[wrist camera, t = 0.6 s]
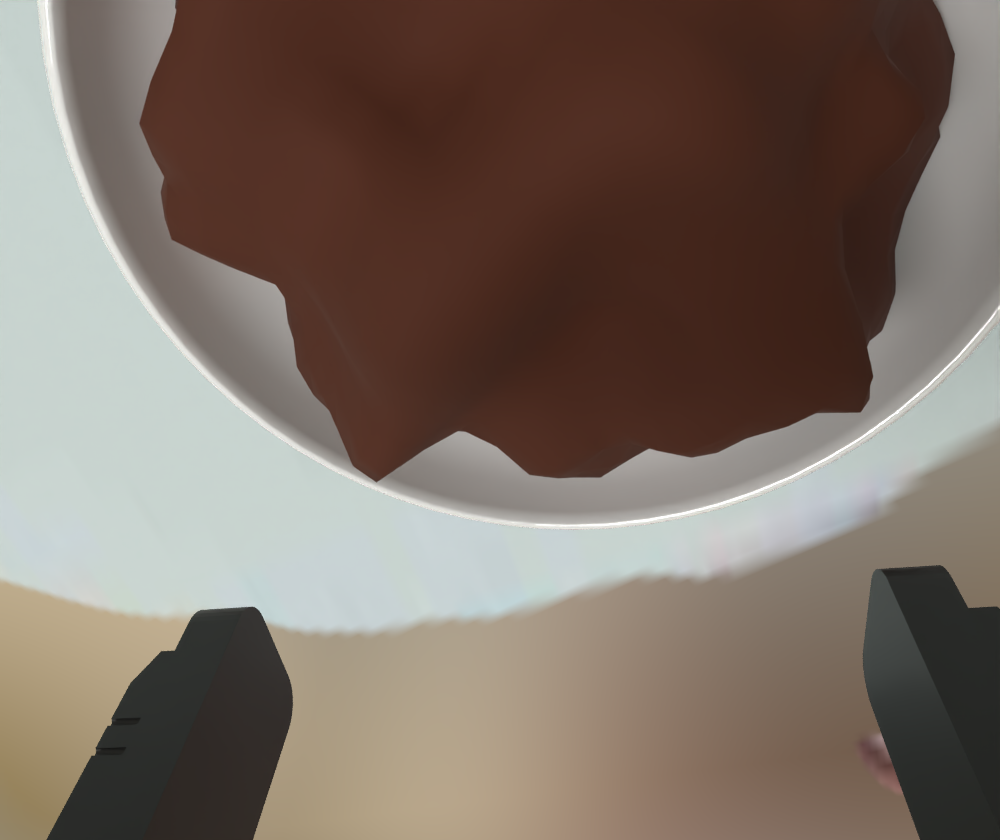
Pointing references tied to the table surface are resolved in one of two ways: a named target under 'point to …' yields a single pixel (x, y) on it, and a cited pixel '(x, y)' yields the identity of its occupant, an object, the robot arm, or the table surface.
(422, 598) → the table surface
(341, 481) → the table surface
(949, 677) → the robot arm
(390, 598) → the table surface
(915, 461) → the table surface
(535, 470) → the bowl of brownies
